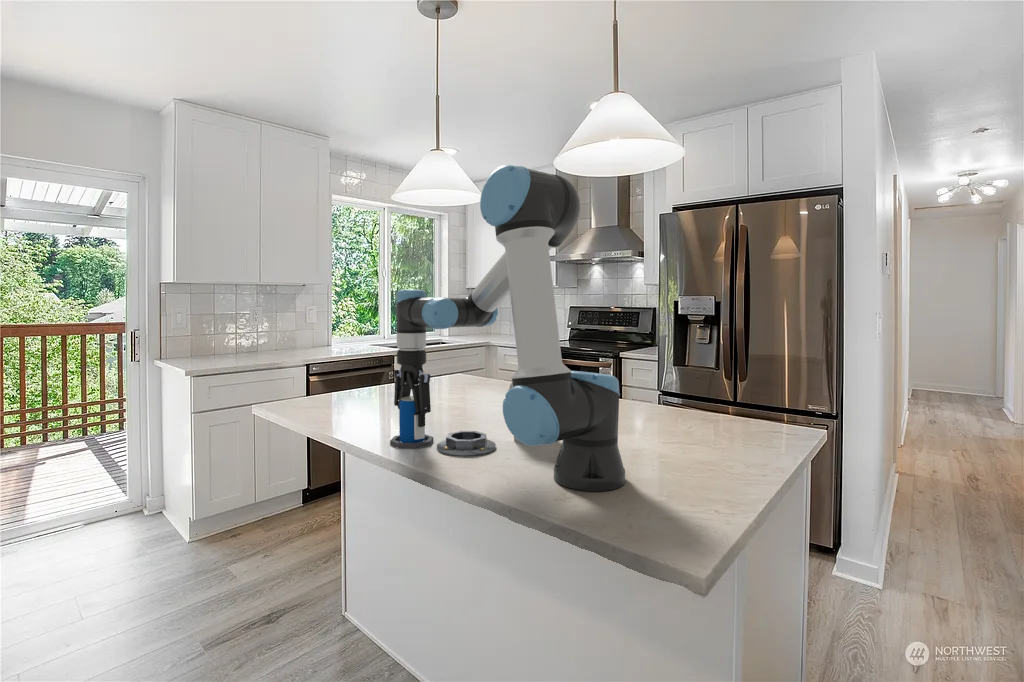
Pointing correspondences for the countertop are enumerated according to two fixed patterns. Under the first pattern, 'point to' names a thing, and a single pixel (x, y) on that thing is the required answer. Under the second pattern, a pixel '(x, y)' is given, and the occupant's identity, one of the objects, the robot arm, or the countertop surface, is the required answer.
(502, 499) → the countertop surface
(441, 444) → the hub socket
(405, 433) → the beverage can
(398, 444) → the stand ring
